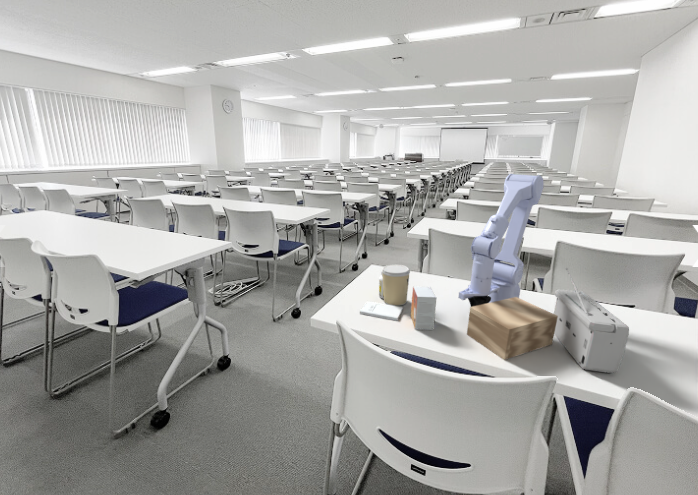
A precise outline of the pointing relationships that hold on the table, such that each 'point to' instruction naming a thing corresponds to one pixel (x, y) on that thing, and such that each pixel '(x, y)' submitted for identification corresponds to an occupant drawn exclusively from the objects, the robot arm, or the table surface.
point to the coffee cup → (395, 284)
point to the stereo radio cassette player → (589, 331)
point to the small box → (423, 307)
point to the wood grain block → (511, 327)
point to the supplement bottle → (381, 286)
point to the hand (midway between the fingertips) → (476, 316)
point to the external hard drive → (381, 310)
